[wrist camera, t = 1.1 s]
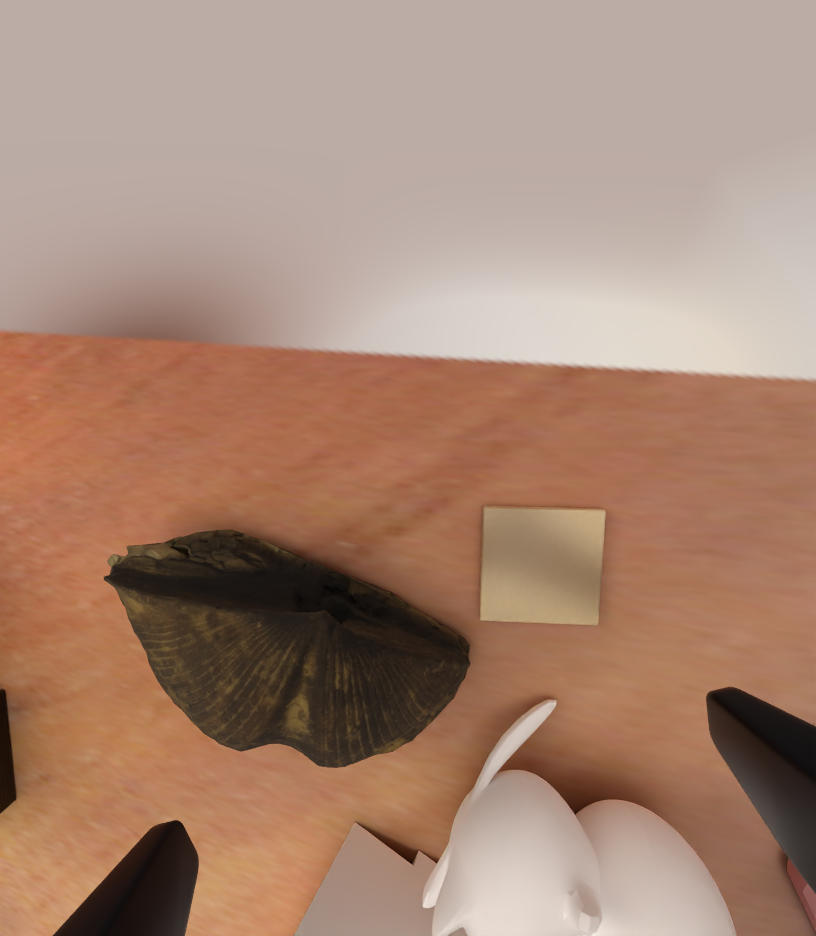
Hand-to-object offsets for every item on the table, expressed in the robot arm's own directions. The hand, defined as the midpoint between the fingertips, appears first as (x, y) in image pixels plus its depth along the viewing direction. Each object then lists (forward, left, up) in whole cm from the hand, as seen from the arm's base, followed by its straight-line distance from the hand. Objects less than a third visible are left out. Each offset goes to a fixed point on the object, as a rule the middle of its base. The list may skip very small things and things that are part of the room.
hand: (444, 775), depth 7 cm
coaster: (-1, -5, -14) cm, 15 cm away
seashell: (-5, +7, -14) cm, 16 cm away
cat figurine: (-13, -7, -14) cm, 21 cm away
